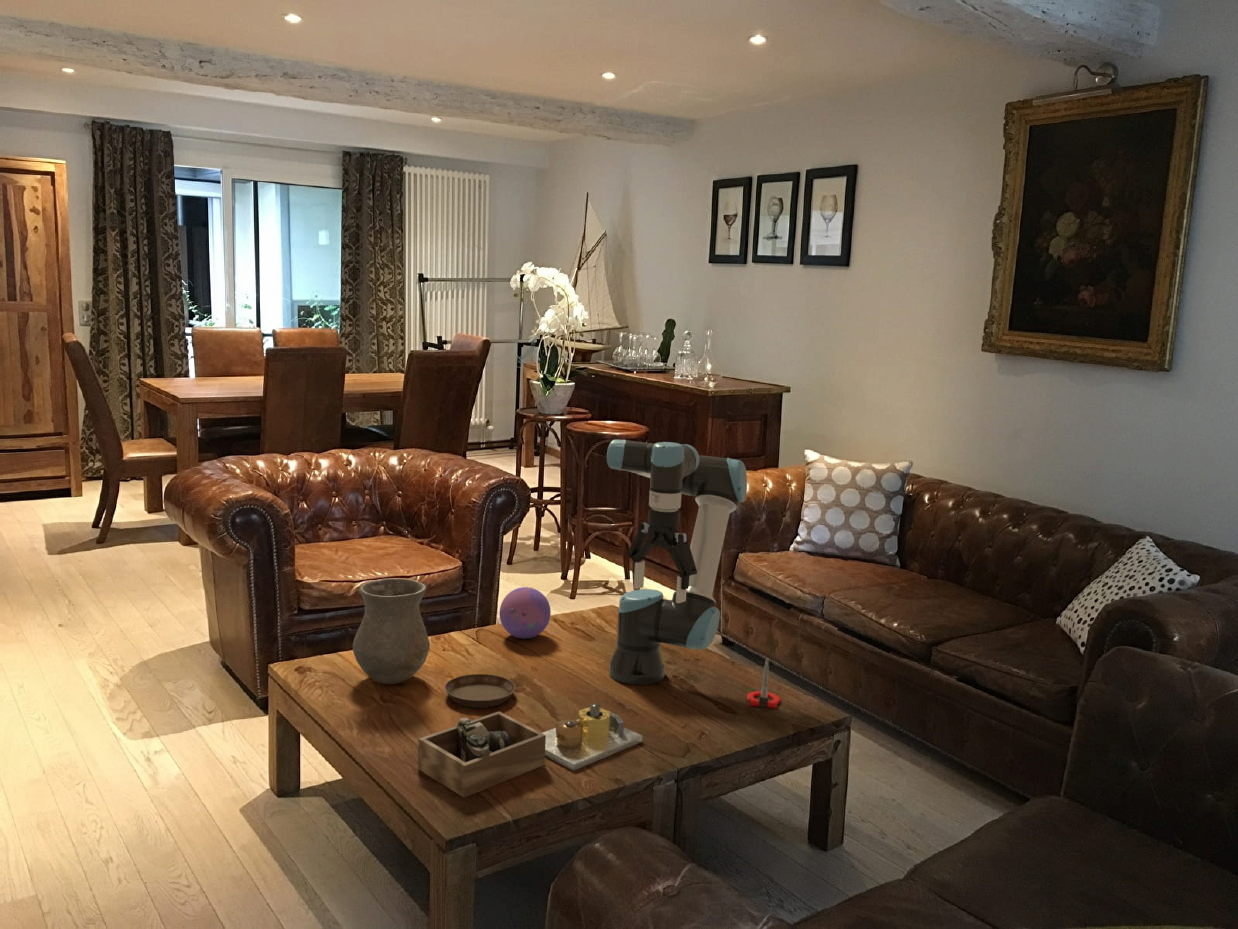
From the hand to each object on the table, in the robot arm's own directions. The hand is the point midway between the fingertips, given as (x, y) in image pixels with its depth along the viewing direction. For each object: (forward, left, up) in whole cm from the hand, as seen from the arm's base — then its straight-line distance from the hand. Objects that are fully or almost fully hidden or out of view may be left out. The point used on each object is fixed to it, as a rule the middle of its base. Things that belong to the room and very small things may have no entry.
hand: (659, 594), depth 244 cm
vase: (-60, -35, -32) cm, 76 cm away
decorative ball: (-63, +13, -32) cm, 72 cm away
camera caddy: (-7, -47, -32) cm, 57 cm away
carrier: (-1, -22, -32) cm, 39 cm away
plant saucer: (-37, -24, -32) cm, 55 cm away
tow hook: (+11, +31, -32) cm, 46 cm away
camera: (-6, -47, -31) cm, 57 cm away
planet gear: (-1, -19, -30) cm, 36 cm away
